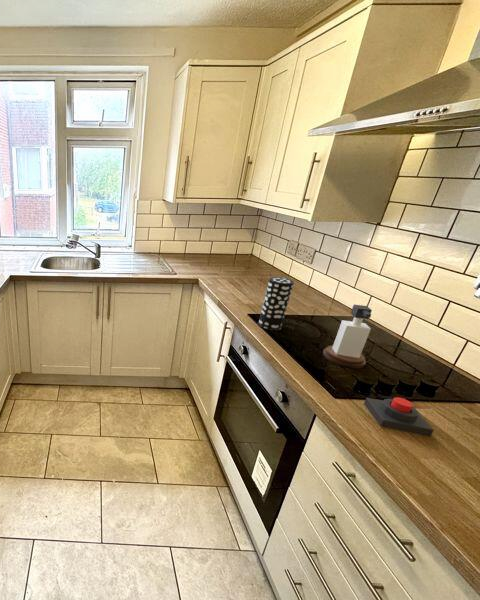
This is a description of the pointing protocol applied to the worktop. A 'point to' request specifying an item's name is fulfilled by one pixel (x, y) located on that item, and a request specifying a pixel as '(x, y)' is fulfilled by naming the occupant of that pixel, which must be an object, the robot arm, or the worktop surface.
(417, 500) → the worktop surface
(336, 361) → the base
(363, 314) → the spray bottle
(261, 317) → the spotted tube
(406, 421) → the grey stepped base
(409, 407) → the button
